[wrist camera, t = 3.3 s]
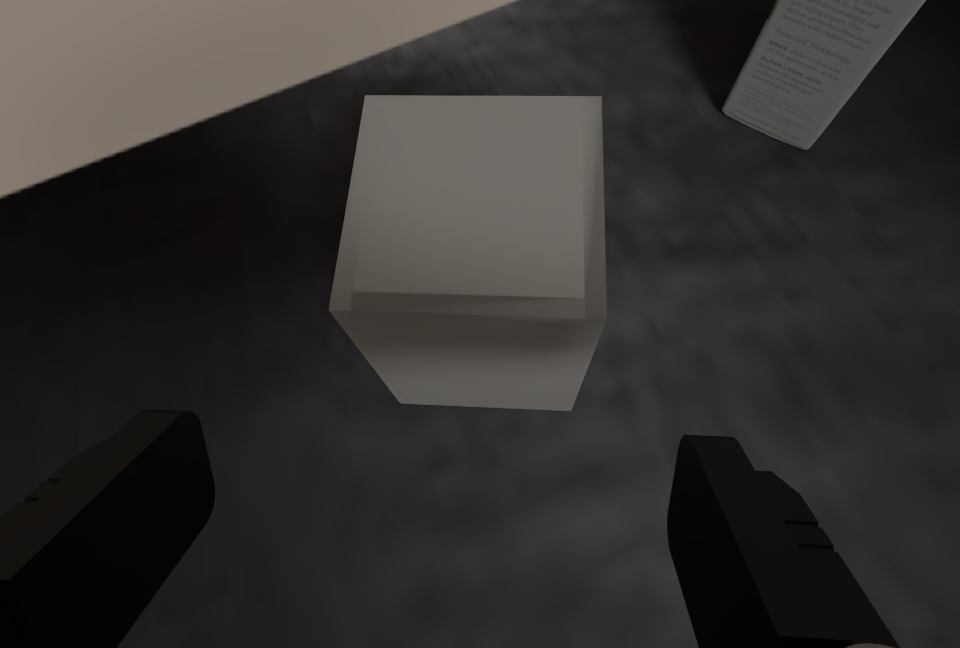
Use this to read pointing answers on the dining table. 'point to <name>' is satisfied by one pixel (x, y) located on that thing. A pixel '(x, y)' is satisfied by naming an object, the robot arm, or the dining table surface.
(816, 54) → the skincare box
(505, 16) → the dining table surface
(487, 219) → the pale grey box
